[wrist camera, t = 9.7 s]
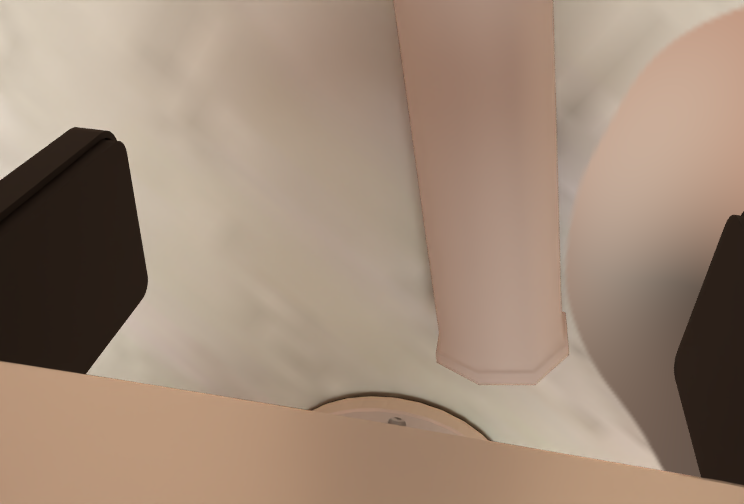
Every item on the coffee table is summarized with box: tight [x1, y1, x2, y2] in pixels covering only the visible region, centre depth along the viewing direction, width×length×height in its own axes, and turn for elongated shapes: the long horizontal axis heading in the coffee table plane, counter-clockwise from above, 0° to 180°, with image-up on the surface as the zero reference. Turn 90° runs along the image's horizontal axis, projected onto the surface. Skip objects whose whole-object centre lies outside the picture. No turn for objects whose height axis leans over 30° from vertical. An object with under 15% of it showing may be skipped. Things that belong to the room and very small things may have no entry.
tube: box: [393, 0, 569, 385], centre depth 22 cm, size 5×5×25 cm
